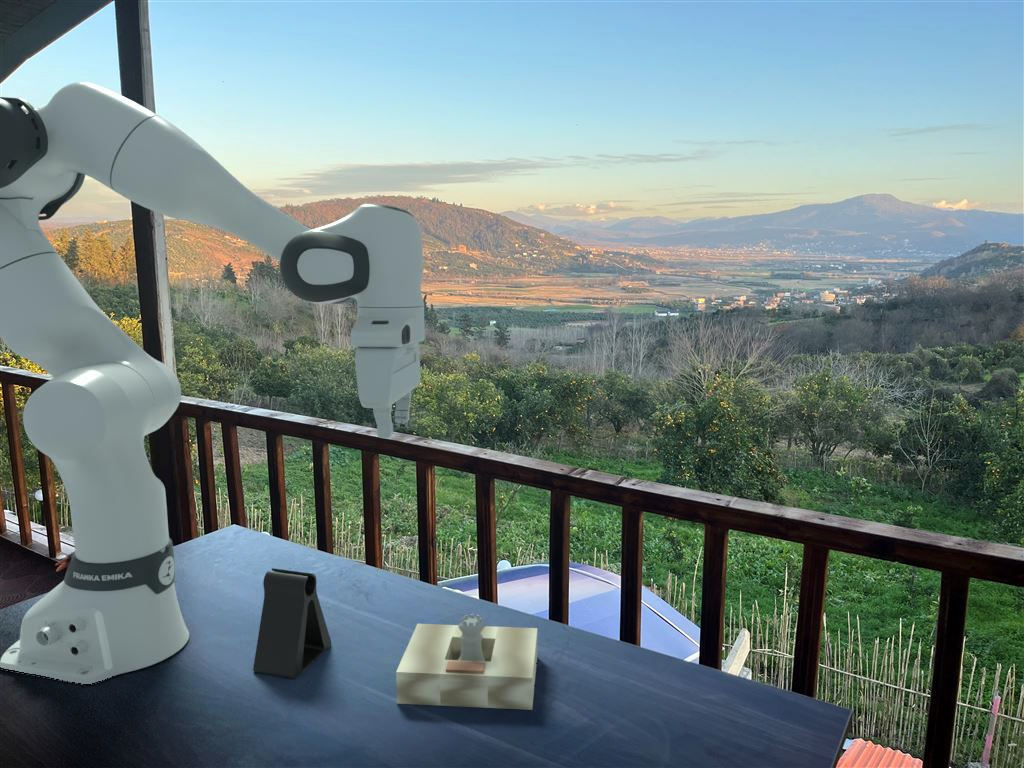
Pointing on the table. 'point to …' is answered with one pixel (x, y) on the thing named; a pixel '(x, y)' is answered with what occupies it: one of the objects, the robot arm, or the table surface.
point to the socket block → (468, 668)
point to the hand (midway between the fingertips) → (394, 429)
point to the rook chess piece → (471, 638)
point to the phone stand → (290, 625)
